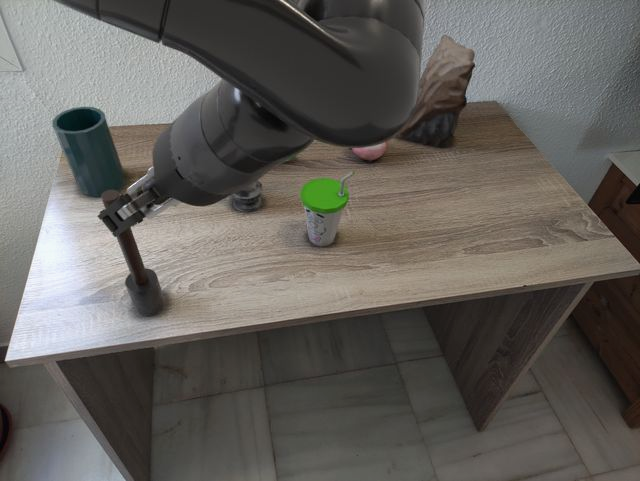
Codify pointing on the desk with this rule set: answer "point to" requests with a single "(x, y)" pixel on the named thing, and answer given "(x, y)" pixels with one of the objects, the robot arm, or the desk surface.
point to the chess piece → (248, 197)
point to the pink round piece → (370, 151)
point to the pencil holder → (89, 150)
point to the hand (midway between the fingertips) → (149, 198)
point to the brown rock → (441, 95)
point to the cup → (324, 208)
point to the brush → (137, 271)
